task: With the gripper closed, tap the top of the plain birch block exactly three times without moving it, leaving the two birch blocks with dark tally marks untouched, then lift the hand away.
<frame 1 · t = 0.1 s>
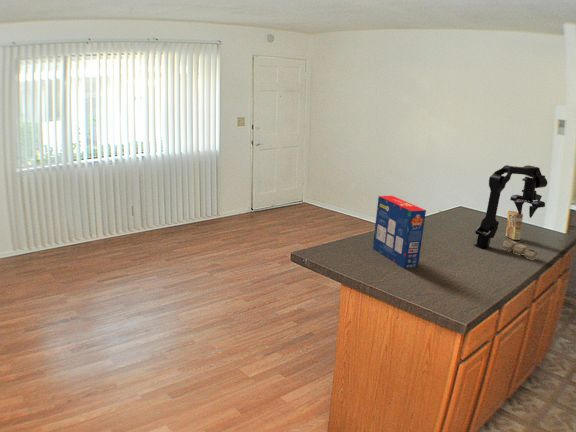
hand: (525, 215, 286), 16 cm above the table, tool pointing down, fingers open, 7 cm apart
plain block: (519, 254, 270), on the table
blue toy box: (394, 257, 253), on the table
two mark block: (508, 249, 276), on the table
three mark block: (530, 258, 264), on the table
candy box: (512, 238, 296), on the table, touching gripper
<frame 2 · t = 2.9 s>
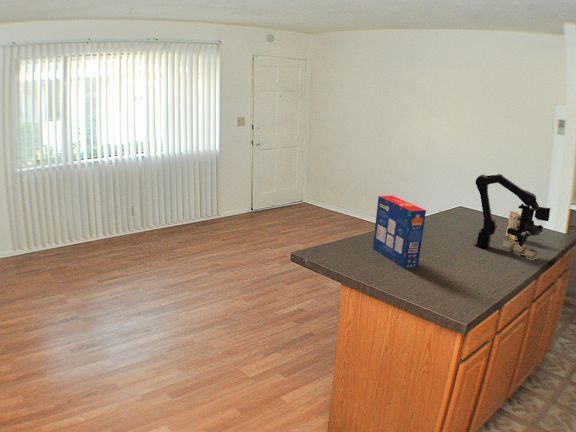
hand: (520, 246, 269), 4 cm above the table, tool pointing down, fingers closed, pressing on plain block
plain block: (519, 254, 270), on the table, touching gripper
candy box: (512, 239, 296), on the table
everything else where it was.
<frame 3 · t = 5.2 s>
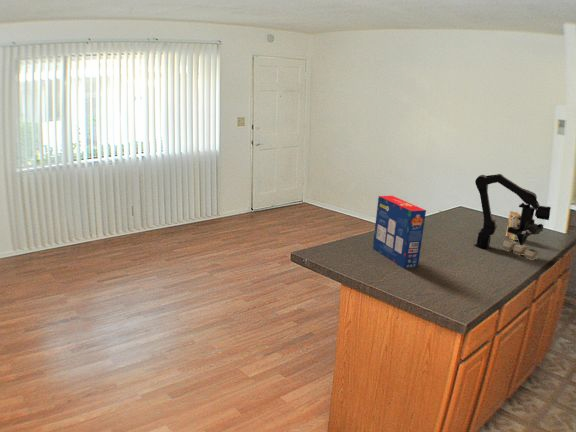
hand: (521, 245, 269), 5 cm above the table, tool pointing down, fingers closed
plain block: (519, 254, 270), on the table
everything else where it was.
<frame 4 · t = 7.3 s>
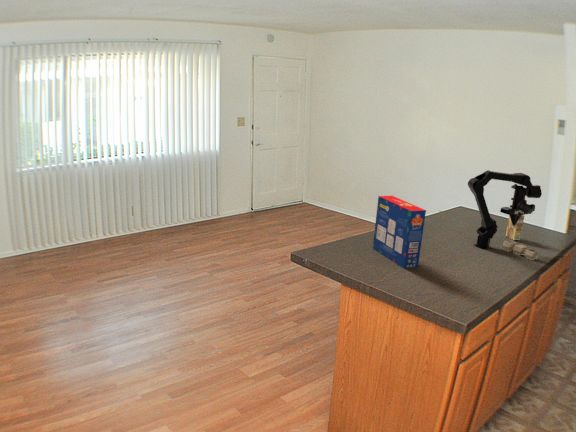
hand: (513, 225, 275), 13 cm above the table, tool pointing down, fingers closed
nothing on the table moved.
at the end: plain block moved 0.1 cm from its start; two mark block moved 0.1 cm from its start; three mark block moved 0.1 cm from its start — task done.
